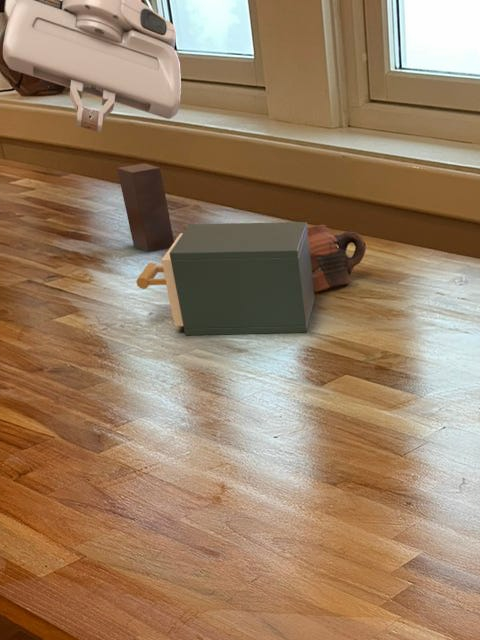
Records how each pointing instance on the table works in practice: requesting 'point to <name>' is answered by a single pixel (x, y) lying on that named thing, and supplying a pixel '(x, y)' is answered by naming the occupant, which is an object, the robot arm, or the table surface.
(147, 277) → the drawer
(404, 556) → the table surface
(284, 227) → the cabinet
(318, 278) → the pottery mug
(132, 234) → the block
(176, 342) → the table surface
